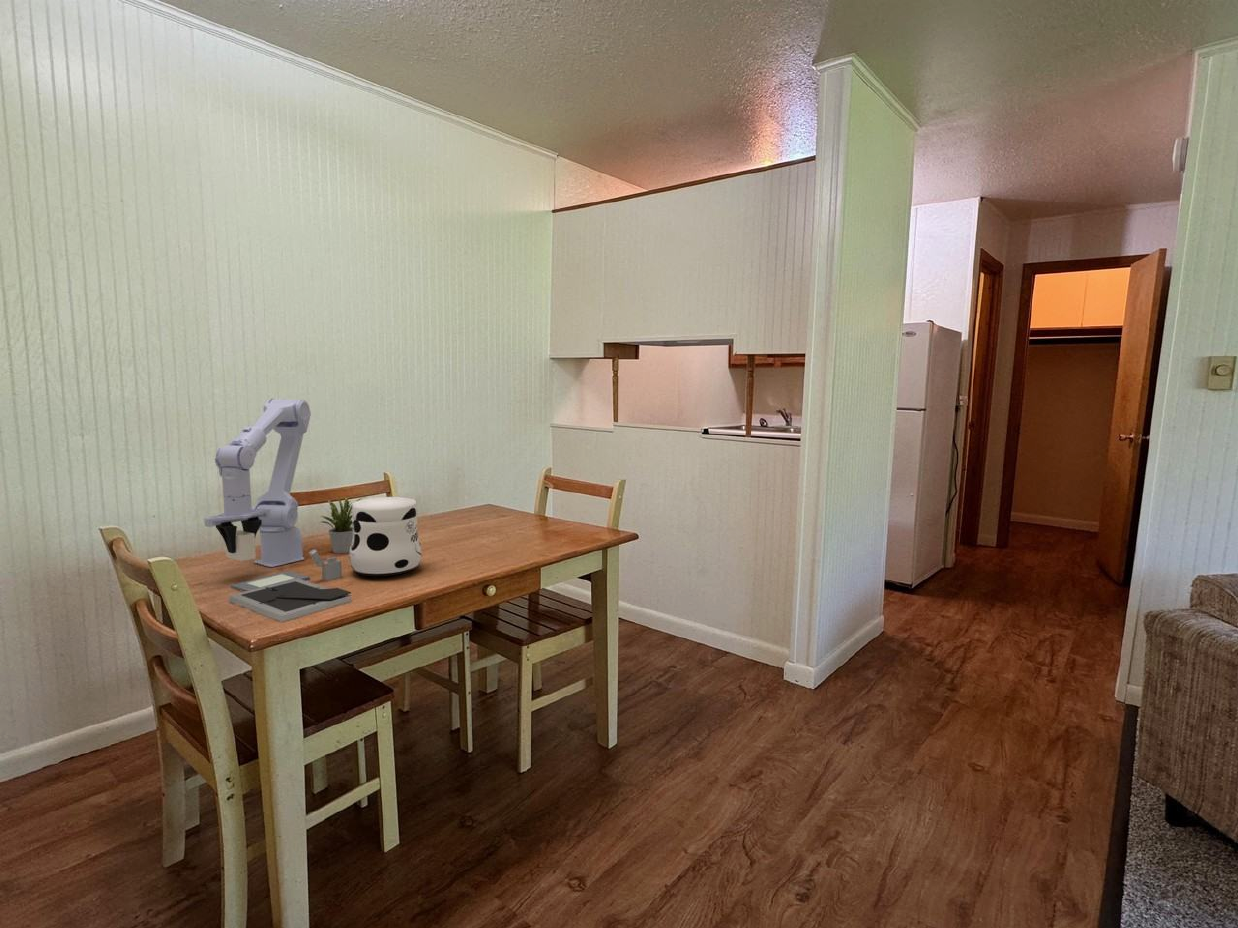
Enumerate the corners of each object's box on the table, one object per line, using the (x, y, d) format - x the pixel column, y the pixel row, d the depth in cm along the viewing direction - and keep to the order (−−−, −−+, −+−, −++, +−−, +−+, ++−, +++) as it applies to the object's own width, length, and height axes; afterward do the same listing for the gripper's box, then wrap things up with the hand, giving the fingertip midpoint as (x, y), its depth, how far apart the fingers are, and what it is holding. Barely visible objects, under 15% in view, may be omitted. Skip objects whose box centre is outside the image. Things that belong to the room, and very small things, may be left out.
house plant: (383, 545, 192) (381, 490, 190) (360, 558, 179) (358, 499, 177) (337, 543, 194) (335, 489, 192) (310, 556, 180) (308, 497, 178)
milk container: (436, 568, 170) (434, 500, 168) (381, 585, 156) (379, 511, 153) (390, 558, 179) (388, 493, 177) (335, 574, 164) (332, 503, 162)
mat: (288, 573, 164) (288, 570, 164) (309, 579, 160) (309, 576, 160) (231, 587, 152) (230, 584, 152) (252, 594, 148) (252, 591, 148)
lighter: (338, 576, 163) (337, 544, 162) (342, 577, 162) (340, 545, 161) (309, 582, 157) (308, 549, 156) (312, 583, 156) (311, 551, 155)
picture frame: (351, 604, 145) (298, 586, 156) (351, 592, 144) (297, 575, 156) (282, 625, 132) (229, 604, 143) (281, 612, 131) (228, 592, 143)
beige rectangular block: (240, 553, 162) (239, 530, 161) (255, 557, 158) (254, 533, 157) (226, 556, 159) (224, 532, 158) (241, 561, 155) (239, 536, 154)
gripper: (214, 501, 148) (218, 559, 150) (276, 492, 160) (279, 546, 162) (198, 498, 152) (202, 555, 154) (259, 489, 164) (262, 542, 166)
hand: (240, 550), depth 158 cm, fingers closed on beige rectangular block, 3 cm apart
